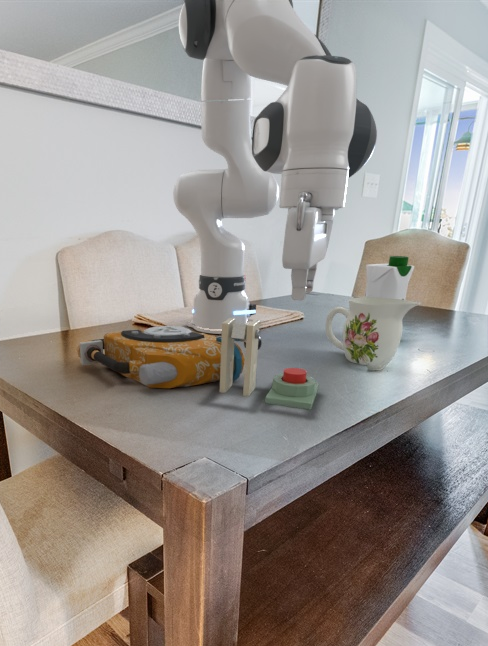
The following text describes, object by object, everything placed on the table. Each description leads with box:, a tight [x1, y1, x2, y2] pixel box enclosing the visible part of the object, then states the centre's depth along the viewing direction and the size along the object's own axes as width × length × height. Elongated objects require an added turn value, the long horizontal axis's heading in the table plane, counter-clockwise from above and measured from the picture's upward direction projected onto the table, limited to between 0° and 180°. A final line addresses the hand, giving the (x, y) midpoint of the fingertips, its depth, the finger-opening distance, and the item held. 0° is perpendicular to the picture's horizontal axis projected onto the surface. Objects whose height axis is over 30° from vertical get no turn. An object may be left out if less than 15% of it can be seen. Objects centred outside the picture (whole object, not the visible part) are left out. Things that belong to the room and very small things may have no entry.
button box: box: [264, 373, 320, 410], centre depth 75 cm, size 10×7×4 cm
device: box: [76, 325, 245, 389], centre depth 87 cm, size 23×8×30 cm
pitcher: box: [325, 296, 422, 371], centre depth 93 cm, size 11×18×14 cm, turn 46°
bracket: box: [219, 318, 261, 397], centre depth 75 cm, size 10×8×13 cm
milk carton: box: [364, 255, 415, 300], centre depth 112 cm, size 9×9×20 cm
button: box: [282, 367, 308, 384], centre depth 74 cm, size 4×4×2 cm
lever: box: [231, 323, 263, 351], centre depth 78 cm, size 13×3×3 cm, turn 158°
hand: (302, 295), depth 69 cm, fingers open, 7 cm apart
